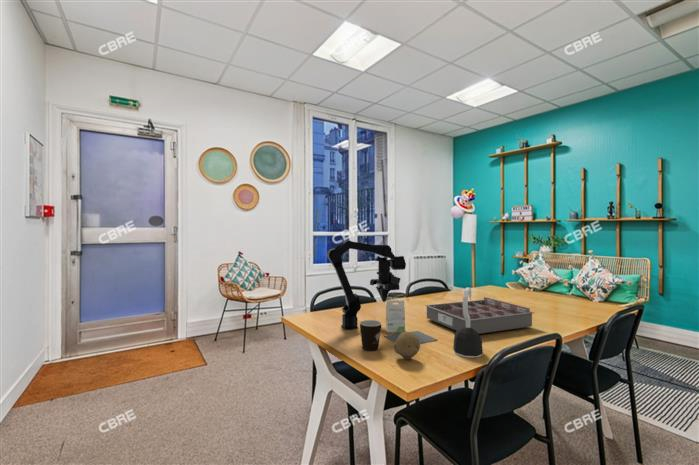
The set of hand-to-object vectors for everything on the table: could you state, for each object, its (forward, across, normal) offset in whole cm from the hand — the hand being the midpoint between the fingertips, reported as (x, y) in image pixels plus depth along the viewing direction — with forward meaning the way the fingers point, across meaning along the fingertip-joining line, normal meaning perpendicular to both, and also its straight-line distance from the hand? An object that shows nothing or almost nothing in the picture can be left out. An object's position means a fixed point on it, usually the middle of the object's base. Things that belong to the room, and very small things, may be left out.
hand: (384, 301), depth 164 cm
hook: (+12, -45, -10) cm, 48 cm away
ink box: (+12, -10, 0) cm, 16 cm away
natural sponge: (+12, -41, +15) cm, 45 cm away
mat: (+12, -22, 0) cm, 25 cm away
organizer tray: (+12, -18, -43) cm, 48 cm away
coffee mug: (+12, -25, +20) cm, 34 cm away
